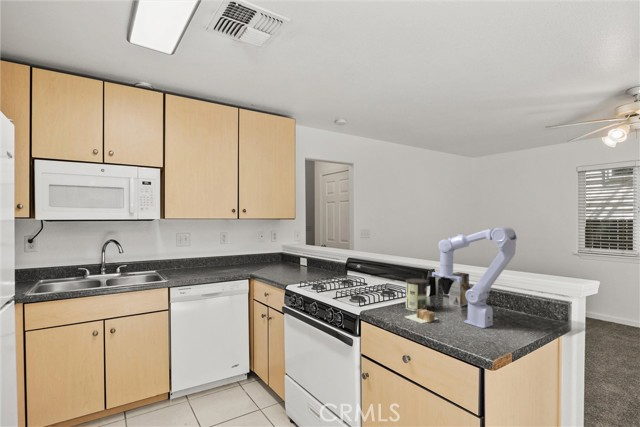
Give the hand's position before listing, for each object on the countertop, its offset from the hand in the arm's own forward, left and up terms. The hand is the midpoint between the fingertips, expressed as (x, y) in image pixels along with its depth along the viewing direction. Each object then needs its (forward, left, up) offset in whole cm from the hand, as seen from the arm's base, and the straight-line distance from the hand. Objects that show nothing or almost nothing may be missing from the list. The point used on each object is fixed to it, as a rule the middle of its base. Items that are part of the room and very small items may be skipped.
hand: (446, 294), depth 159 cm
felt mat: (+3, +13, -10) cm, 17 cm away
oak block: (-2, +13, -8) cm, 15 cm away
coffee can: (+15, +3, -10) cm, 18 cm away
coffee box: (+8, -22, -10) cm, 25 cm away
